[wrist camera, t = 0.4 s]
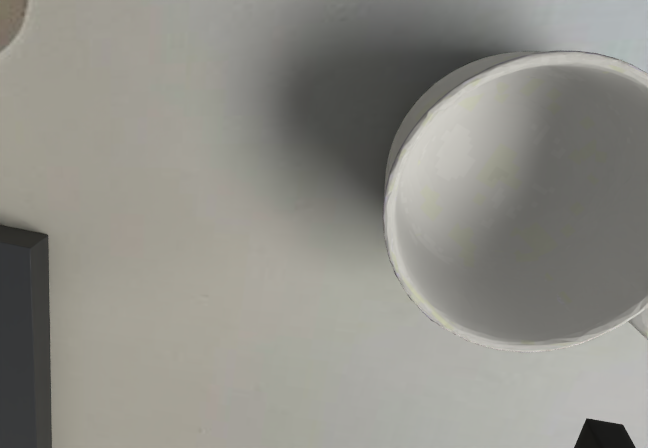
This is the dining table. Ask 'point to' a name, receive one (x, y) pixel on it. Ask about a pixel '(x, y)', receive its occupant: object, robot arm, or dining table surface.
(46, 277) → the scale
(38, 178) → the dining table surface
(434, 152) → the teacup
